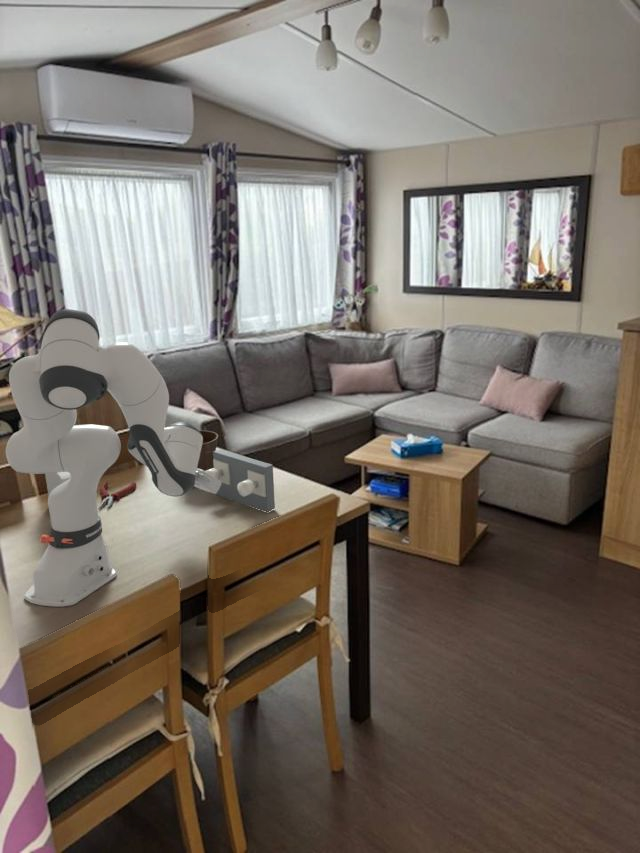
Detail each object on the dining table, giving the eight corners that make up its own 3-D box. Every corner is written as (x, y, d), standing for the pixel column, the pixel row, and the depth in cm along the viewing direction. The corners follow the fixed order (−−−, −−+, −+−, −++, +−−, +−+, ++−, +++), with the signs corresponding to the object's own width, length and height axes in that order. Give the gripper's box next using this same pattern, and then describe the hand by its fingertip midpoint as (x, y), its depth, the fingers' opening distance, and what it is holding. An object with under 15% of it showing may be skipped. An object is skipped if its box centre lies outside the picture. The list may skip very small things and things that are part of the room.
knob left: (212, 485, 198) (211, 472, 197) (203, 482, 201) (202, 469, 200) (225, 480, 202) (224, 467, 201) (216, 477, 205) (215, 464, 204)
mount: (266, 514, 193) (264, 468, 189) (215, 495, 208) (211, 452, 204) (274, 510, 196) (272, 464, 191) (223, 491, 211) (220, 449, 206)
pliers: (85, 512, 199) (84, 505, 198) (104, 488, 218) (103, 481, 217) (121, 511, 199) (121, 504, 198) (137, 487, 218) (137, 480, 217)
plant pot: (199, 493, 210) (195, 447, 205) (164, 485, 218) (159, 440, 213) (230, 477, 223) (227, 434, 218) (196, 470, 231) (192, 427, 226)
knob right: (247, 498, 188) (246, 484, 187) (237, 494, 191) (236, 480, 190) (260, 492, 192) (260, 478, 191) (250, 489, 195) (250, 475, 194)
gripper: (206, 463, 163) (237, 487, 173) (158, 448, 176) (189, 471, 186) (194, 484, 161) (226, 507, 171) (146, 468, 174) (178, 490, 184)
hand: (206, 488), depth 178 cm, fingers closed
